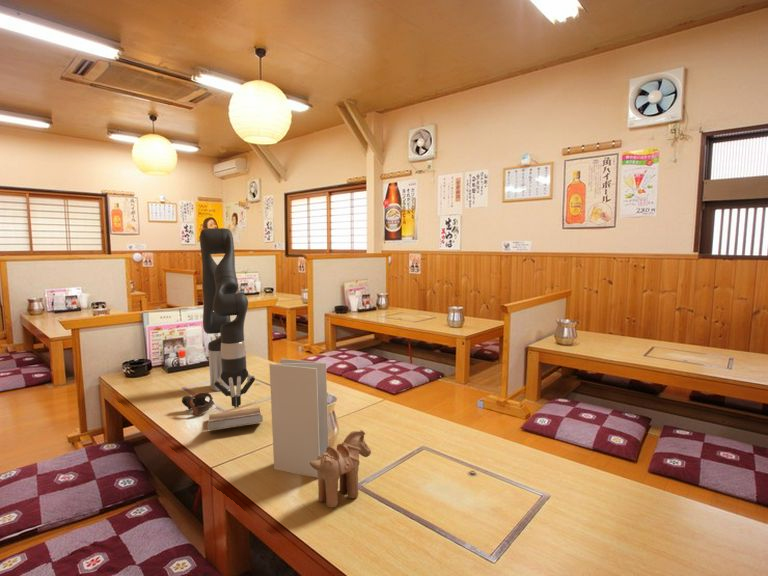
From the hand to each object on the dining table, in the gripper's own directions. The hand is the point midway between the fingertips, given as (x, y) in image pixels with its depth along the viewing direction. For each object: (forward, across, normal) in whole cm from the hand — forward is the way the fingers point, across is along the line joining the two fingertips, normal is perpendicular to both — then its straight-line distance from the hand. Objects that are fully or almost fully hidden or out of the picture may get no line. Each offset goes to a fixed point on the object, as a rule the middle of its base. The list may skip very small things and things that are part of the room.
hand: (236, 406), depth 138 cm
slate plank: (+7, +1, -2) cm, 8 cm away
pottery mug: (+9, +13, -25) cm, 29 cm away
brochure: (+10, -16, +29) cm, 35 cm away
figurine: (+10, -24, +45) cm, 52 cm away
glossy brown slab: (+9, 0, -11) cm, 14 cm away
